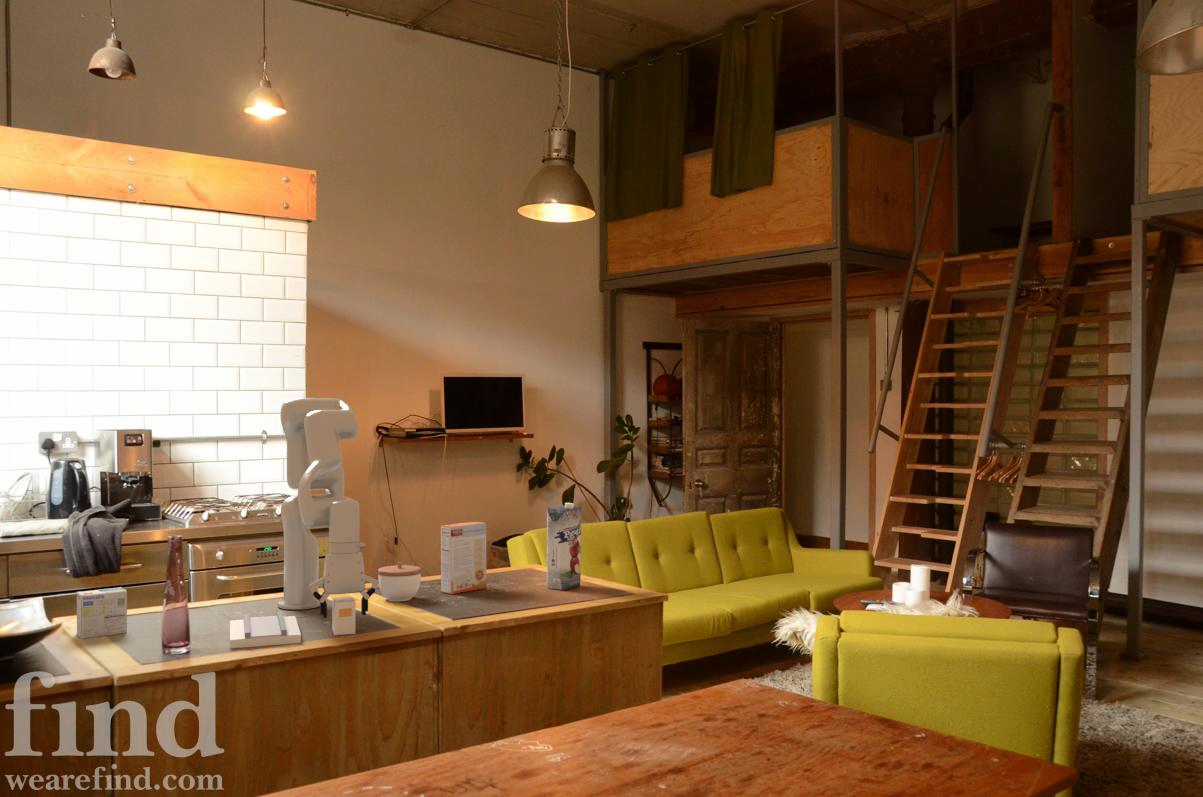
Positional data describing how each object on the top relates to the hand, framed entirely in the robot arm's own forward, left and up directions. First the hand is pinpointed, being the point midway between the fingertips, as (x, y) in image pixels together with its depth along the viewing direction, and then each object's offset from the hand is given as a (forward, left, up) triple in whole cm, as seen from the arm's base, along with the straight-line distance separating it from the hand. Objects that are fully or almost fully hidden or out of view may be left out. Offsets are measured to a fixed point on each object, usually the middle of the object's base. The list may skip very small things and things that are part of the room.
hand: (344, 615), depth 243 cm
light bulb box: (-18, -57, -4) cm, 60 cm away
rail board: (-2, -19, -4) cm, 20 cm away
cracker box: (-43, +41, -4) cm, 60 cm away
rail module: (0, 0, -4) cm, 4 cm away
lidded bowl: (-36, +20, -4) cm, 42 cm away
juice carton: (-37, +72, -4) cm, 81 cm away
